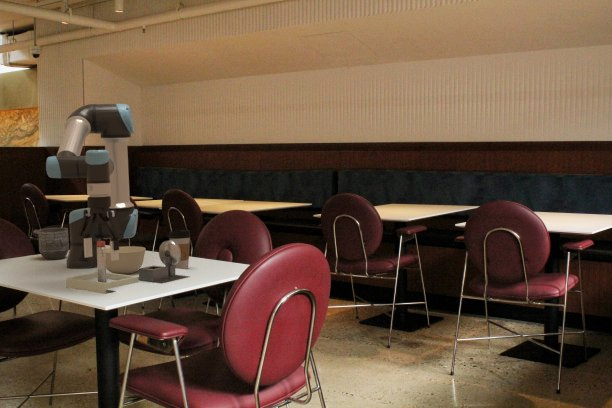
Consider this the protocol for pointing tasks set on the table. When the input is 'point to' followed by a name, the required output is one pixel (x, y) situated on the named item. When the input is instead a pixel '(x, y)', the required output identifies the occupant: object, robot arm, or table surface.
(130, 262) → the bowl
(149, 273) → the block
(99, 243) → the pin
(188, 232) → the coffee cup
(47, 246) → the planter
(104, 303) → the table surface
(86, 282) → the tray
